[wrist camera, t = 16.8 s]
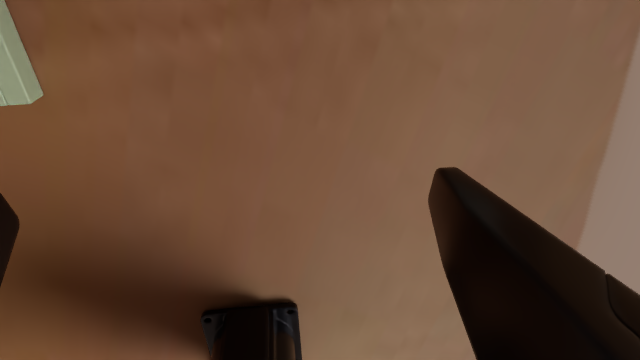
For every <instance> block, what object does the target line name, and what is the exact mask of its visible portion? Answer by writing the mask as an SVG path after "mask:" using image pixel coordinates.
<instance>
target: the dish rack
mask: <svg viewBox="0 0 640 360" xmlns="http://www.w3.org/2000/svg"><path fill="white" fill-rule="evenodd" d="M41 96H43V92H42V90H41V87H40V85H39V82H38V80H37V77H36V75H35V73H34V70H33V68H32V65H31V63H30V61H29V58H28V56H27V53H26V51H25V49H24V46H23V44H22V41H21V39H20V37H19V34H18V32H17V29H16V27H15V25H14V22H13V20H12V17H11V15H10V13H9V10H8V8H7V5H6V3H5V1H4V0H0V106H6V105H21V104H31V103H33V102H34V101H36V100H37V99H39V98H40V97H41Z"/></svg>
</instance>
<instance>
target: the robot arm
mask: <svg viewBox="0 0 640 360" xmlns="http://www.w3.org/2000/svg"><path fill="white" fill-rule="evenodd" d="M428 203H429V209H430V213H431V218H432V222H433V226H434V230H435V235H436V239H437V243H438V248H439V252H440V256H441V260H442V264H443V268H444V271H445V274H446V277H447V279H448V282H449V285H450V288H451V290H452V293H453V296H454V299H455V301H456V304H457V307H458V310H459V313H460V315H461V318H462V321H463V324H464V326H465V329H466V332H467V335H468V337H469V340H470V343H471V346H472V348H473V351H474V354H475V357H476V359H477V360H640V295H639V294H638V293H636V292H635V291H633V290H632V289H630V288H629V287H628V286H626V285H625V284H623V283H622V282H620V281H619V280H617V279H616V278H615V277H613V276H612V275H610V274H606V273H605V271H604V270H603V269H601V268H600V267H599V266H597V265H596V264H594V263H593V262H591V261H590V260H589V259H587V258H586V257H584V256H583V255H581V254H580V253H579V252H577V251H576V250H574V249H573V248H571V247H570V246H569V245H567V244H566V243H564V242H563V241H561V240H560V239H558V238H557V237H556V236H554V235H553V234H551V233H550V232H548V231H547V230H546V229H544V228H543V227H541V226H540V225H538V224H537V223H536V222H534V221H533V220H531V219H530V218H528V217H527V216H526V215H524V214H523V213H521V212H520V211H518V210H517V209H515V208H514V207H513V206H511V205H510V204H508V203H507V202H505V201H504V200H503V199H501V198H500V197H498V196H497V195H495V194H494V193H493V192H491V191H490V190H488V189H487V188H485V187H484V186H482V185H481V184H480V183H478V182H477V181H475V180H474V179H472V178H471V177H470V176H468V175H467V174H465V173H464V172H462V171H461V170H460V169H458V168H455V167H447V168H438V169H437V170H436V171H435V174H434V177H433V181H432V185H431V189H430V193H429V198H428ZM18 230H19V219H18V217H17V215H16V214H15V212H14V211H13V209H12V208H11V207H10V205H9V204H8V202H7V201H6V200H5V198H4V197H3V196H2V194H1V193H0V286H1V283H2V280H3V277H4V274H5V271H6V268H7V264H8V261H9V258H10V255H11V252H12V249H13V246H14V243H15V240H16V236H17V233H18ZM201 324H202V327H203V331H204V334H205V338H206V341H207V345H208V348H209V352H210V355H211V360H302V354H301V343H300V331H299V320H298V308H297V305H296V304H295V303H281V304H271V305H261V306H251V307H240V308H230V309H220V310H210V311H205V312H203V313H202V316H201Z"/></svg>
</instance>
